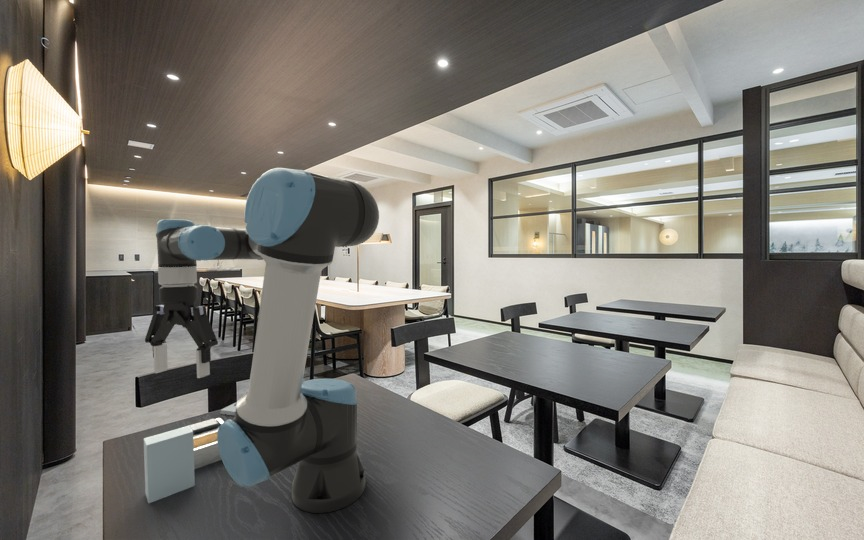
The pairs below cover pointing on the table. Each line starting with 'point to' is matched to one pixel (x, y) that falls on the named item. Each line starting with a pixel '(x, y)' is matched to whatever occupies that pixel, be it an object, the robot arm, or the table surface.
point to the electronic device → (230, 409)
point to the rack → (206, 442)
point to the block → (168, 463)
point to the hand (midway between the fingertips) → (181, 374)
